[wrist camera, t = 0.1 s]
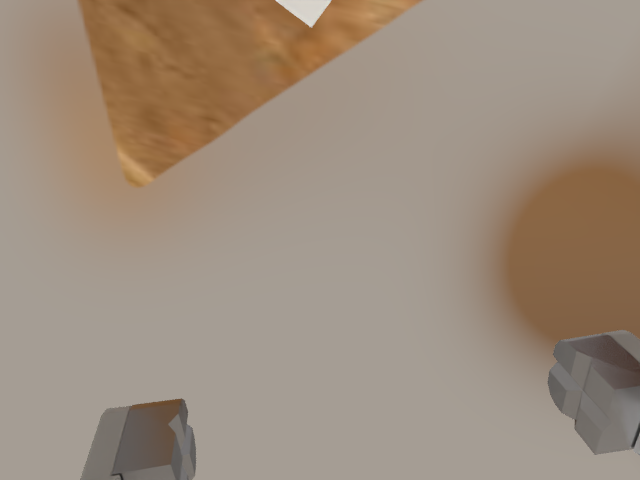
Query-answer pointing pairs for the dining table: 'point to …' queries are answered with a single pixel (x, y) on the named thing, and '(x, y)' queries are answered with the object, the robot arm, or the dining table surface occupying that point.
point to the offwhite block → (305, 9)
